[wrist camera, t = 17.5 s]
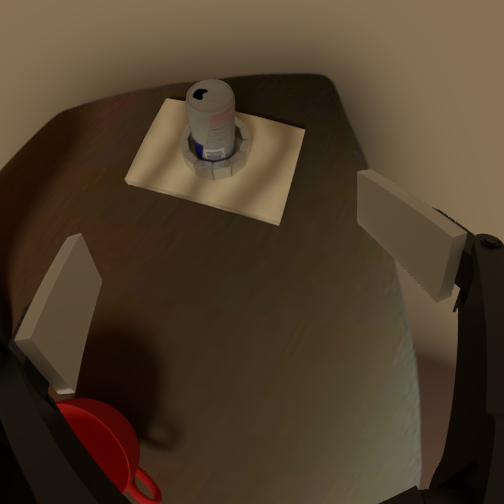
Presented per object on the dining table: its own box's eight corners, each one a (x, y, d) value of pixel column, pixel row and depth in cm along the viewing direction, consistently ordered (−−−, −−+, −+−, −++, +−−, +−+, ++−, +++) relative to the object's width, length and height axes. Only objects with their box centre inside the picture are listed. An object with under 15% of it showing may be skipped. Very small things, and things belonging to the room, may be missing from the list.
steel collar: (174, 170, 40) (170, 159, 37) (197, 119, 42) (195, 107, 40) (237, 187, 40) (237, 176, 37) (256, 133, 42) (258, 121, 39)
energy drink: (206, 130, 42) (198, 73, 30) (241, 142, 42) (243, 85, 30) (189, 160, 41) (175, 106, 29) (225, 173, 41) (221, 119, 29)
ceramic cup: (148, 502, 31) (129, 538, 21) (56, 428, 33) (18, 446, 23) (197, 448, 34) (185, 482, 24) (95, 368, 35) (57, 378, 26)
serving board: (128, 184, 41) (124, 179, 40) (168, 104, 45) (166, 98, 43) (278, 225, 41) (280, 221, 39) (303, 135, 44) (305, 129, 43)
